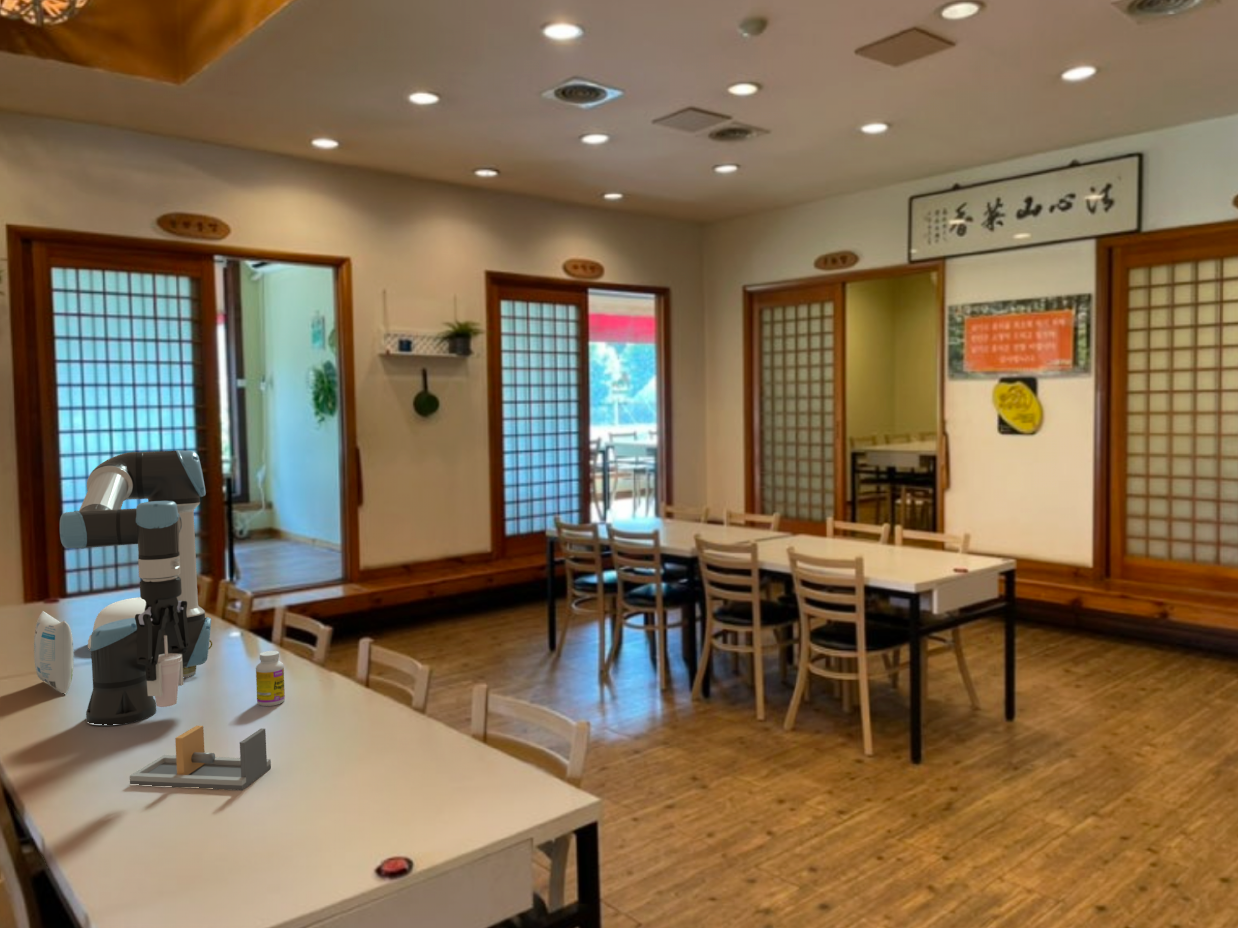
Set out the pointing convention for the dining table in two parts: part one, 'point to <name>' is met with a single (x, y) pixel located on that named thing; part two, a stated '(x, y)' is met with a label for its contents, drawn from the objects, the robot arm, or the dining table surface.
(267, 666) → the supplement bottle
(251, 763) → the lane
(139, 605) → the dome cover
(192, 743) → the pusher
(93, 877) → the dining table surface
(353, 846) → the dining table surface
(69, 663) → the pouch
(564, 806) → the dining table surface
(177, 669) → the smoothie
